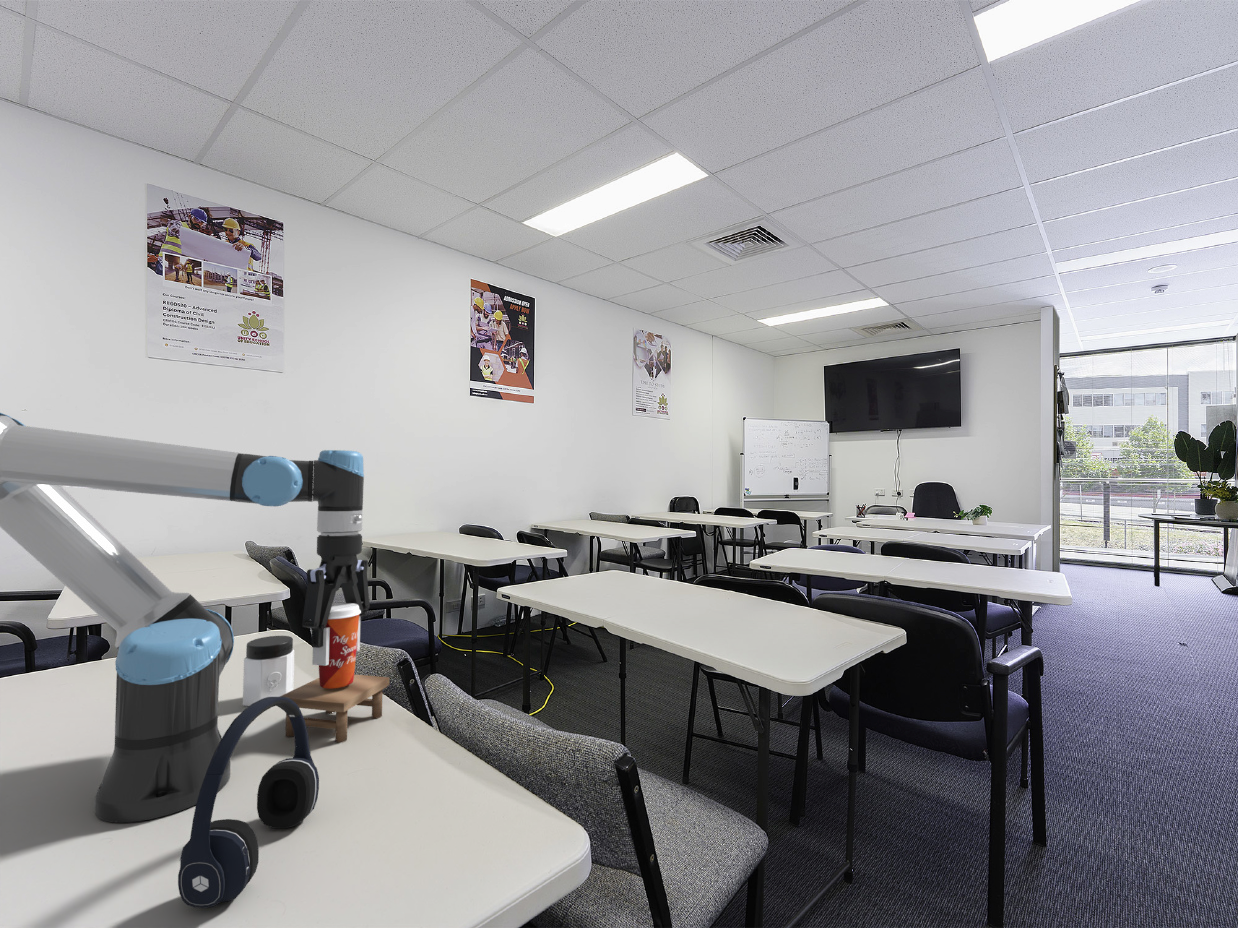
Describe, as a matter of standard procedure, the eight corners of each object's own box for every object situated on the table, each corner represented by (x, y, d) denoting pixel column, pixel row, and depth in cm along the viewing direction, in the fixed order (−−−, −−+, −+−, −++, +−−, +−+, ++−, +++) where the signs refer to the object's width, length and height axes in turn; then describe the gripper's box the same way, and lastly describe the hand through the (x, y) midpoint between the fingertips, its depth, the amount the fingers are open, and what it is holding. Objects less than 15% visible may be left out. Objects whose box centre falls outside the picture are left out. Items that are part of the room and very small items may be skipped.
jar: (247, 711, 109) (248, 649, 109) (238, 699, 115) (240, 640, 115) (298, 699, 115) (300, 640, 115) (288, 688, 121) (289, 632, 121)
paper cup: (340, 692, 99) (342, 612, 99) (303, 688, 100) (304, 610, 101) (369, 677, 107) (370, 603, 107) (333, 673, 108) (335, 600, 108)
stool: (342, 744, 96) (343, 703, 96) (277, 737, 98) (278, 696, 98) (388, 713, 108) (389, 677, 109) (329, 707, 111) (330, 672, 111)
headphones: (231, 922, 57) (236, 741, 58) (162, 923, 57) (167, 741, 58) (326, 808, 77) (329, 674, 78) (275, 809, 77) (279, 674, 78)
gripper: (317, 539, 93) (314, 677, 93) (391, 529, 114) (388, 642, 113) (278, 538, 95) (275, 674, 94) (358, 528, 115) (355, 640, 114)
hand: (336, 656), depth 104 cm, fingers closed on paper cup, 8 cm apart
